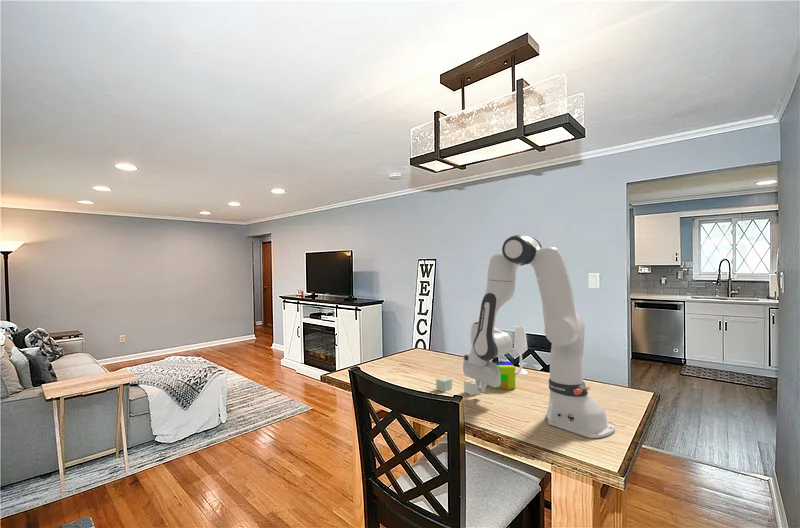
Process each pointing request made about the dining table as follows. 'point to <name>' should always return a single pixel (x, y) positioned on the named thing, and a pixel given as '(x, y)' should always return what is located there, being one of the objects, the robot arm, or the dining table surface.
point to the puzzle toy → (506, 374)
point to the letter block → (471, 387)
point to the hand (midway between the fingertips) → (481, 391)
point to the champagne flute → (520, 345)
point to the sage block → (443, 384)
